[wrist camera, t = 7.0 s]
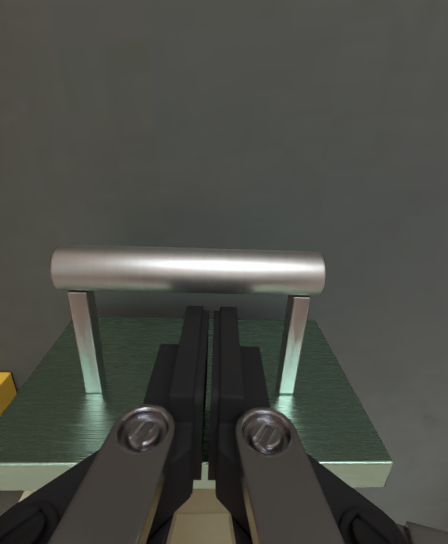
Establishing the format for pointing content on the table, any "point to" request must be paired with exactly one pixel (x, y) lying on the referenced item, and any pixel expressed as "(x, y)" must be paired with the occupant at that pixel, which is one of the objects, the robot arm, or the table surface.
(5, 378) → the block
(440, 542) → the robot arm
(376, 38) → the table surface
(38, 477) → the fridge drawer
